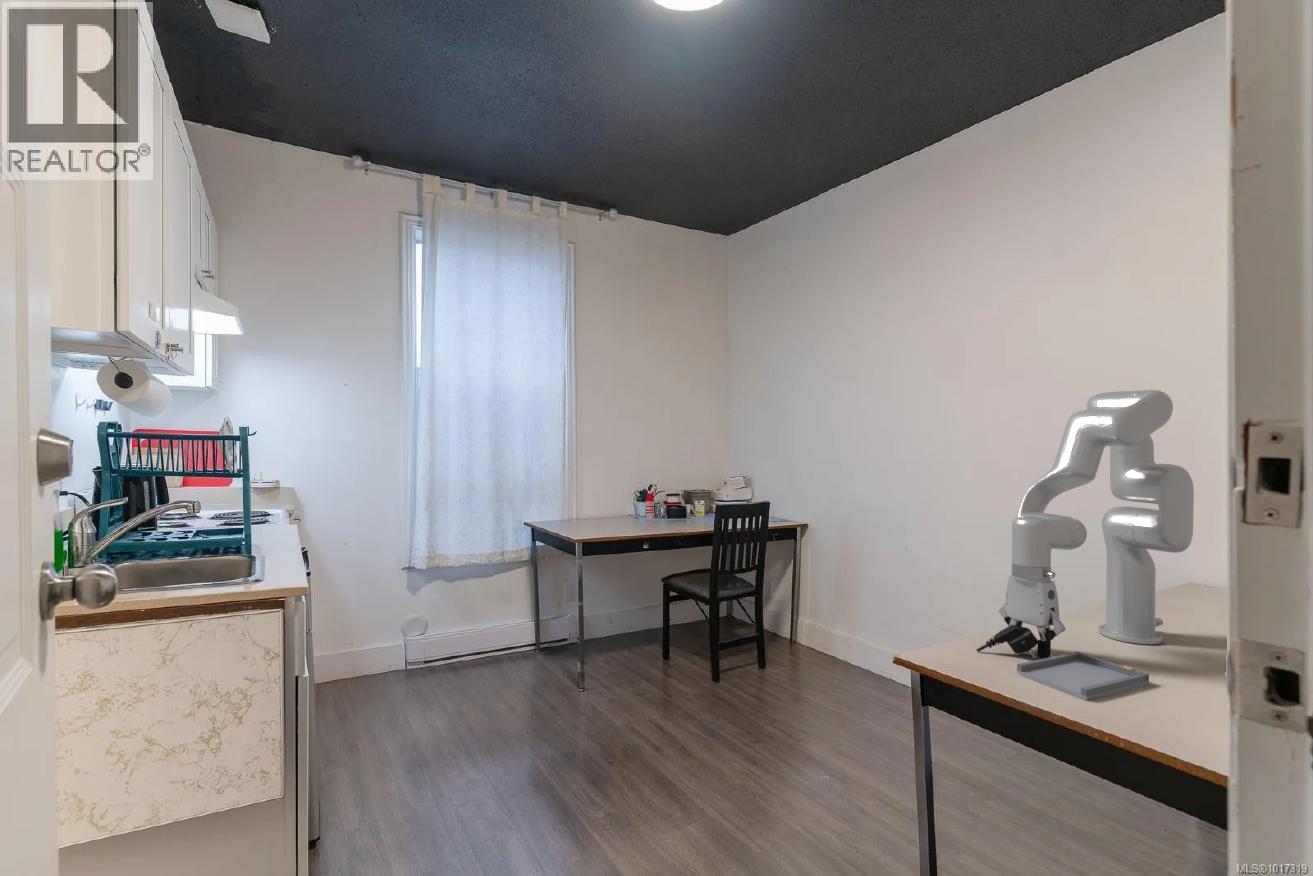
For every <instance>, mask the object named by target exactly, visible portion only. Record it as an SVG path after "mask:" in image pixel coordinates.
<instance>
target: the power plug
mask: <svg viewBox="0 0 1313 876" xmlns="http://www.w3.org/2000/svg"><path fill="white" fill-rule="evenodd" d="M1038 640H1039V639H1038V638H1037V637H1036V636H1035V635H1034V633H1033V632H1032V630H1031V629H1030V628H1028V627H1024V626H1022V627H1020V626H1015V625H1010V626H1006V627H1005V628H1004V629H1003V628H1002V630H999V632H997V633H995V634H994V635H993V636H992V637H990V638H989V639H988V640H986V641H985V644H984V645H981V646H979V647H978V648H975V649H976V651H977V652H978V651H979V652H981V651H983V650H985V649H986V648H990V649H991V648H993V647H995V646H999V645H1000V644H1001V645H1002V644H1004V643H1007V645H1008V646H1009V647H1010V648H1011V650H1012V651H1013V653H1015V654H1023V653H1026V652H1027V653H1028V654H1029V655H1030V656H1031V658H1032V659H1034V660H1037V655H1036V654H1035V653H1034V651H1033V650H1032V649H1033V648H1035V647H1036V646H1038Z"/></svg>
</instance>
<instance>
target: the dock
mask: <svg viewBox="0 0 1313 876" xmlns="http://www.w3.org/2000/svg"><path fill="white" fill-rule="evenodd" d="M1017 673H1019V674H1021V675H1022V677H1024V678H1027V679H1029V678H1031V679H1030V680H1032V681H1034V682H1037V683H1039V682H1040V684H1042V685H1044V686H1047V687H1050V688H1052V689H1055V690H1058V691H1060V692H1063V693H1065V694H1068V695H1070V696H1073V697H1075V698H1079V699H1081V700H1083V701H1086V702H1087V701H1091V700H1095V699H1099V698H1102V697H1106V696H1109V695H1115V694H1117V693H1122V692H1126V691H1129V690H1134V689H1136V688H1140V687H1141V688H1142V687H1145V686H1148V685H1150V674H1148V673H1145V672H1142V671H1139V670H1137V669H1134V667H1131V666H1128V665H1121V664H1117V663H1114V662H1111V661H1108V660H1105V659H1103V658H1099V657H1095V656H1092V655H1090V654H1087V653H1083V652H1079V651H1073V652H1068V653H1065V654H1064V653H1063V654H1059V655H1054V656H1050V657H1047V658H1043V659H1040V658H1038V659H1034V660H1030V661H1027V662H1022V663H1017V664H1016V674H1017ZM1019 674H1018V675H1019ZM1021 675H1020V676H1021Z"/></svg>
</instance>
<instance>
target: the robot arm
mask: <svg viewBox="0 0 1313 876" xmlns="http://www.w3.org/2000/svg"><path fill="white" fill-rule="evenodd" d="M1173 411H1174V403H1173V401H1172V399H1171V397H1170V396H1169V395H1168V394H1167V393H1166V392H1164V391H1162V390H1157V389H1146V390H1145V389H1144V390H1126V391H1125V390H1123V391H1120V390H1119V391H1110V392H1109V391H1107V392H1101V393H1096V394H1094V395H1092V396H1090V397H1089V398H1088V400H1087V403H1086V409H1085V410H1084V409H1083V410H1079V411H1076V412H1074V413H1072V414H1071V415H1070V416H1069V418H1068V420H1067V422H1066V424H1065V427H1064V431H1063V434H1062V437H1061V441H1060V443H1059V447H1058V449H1057V452H1056V456H1055V458H1054V462H1053V465H1052V468H1051V469H1050V470H1049V471H1048V472H1046V473H1045V474H1044V475H1043V476H1041V477H1040V478H1039V479H1037V481H1036V482H1035V483H1033V484H1032V485H1031V486H1030V487H1029V488H1028V490H1027V491H1026V492H1025V494H1024V495H1023V497H1022V499H1021V501H1020V505H1019V507H1018V511H1017V514H1016V517H1015V518H1013V520H1012V524H1011V574H1009V577H1008V581H1007V583H1006V584H1007V586H1006V593H1005V604H1004V605H1002V606H1001V607H1000V608H999V609H998V613H999V614H1000V616H1001V617H1002V618H1003V620H1004V622H1005V623H1006V624H1007V627H1009V626H1010V625H1015V626H1020V627H1023V625H1024V623H1025V624H1028V625H1031V626H1034V627H1036V629H1037V632H1038V635H1039V638H1040V639H1037V640H1038V643H1037V647H1036V649H1037V651H1036V652H1037V655H1036V657H1037V658H1038V659H1044V658H1049V657H1051V653H1052V652H1051V651H1052V650H1051V649H1052V648H1051V647H1052V644H1051V643H1052V641H1053V640H1054V639H1055V638H1056V637H1057V636H1059V634H1062V633H1063V632H1065V631H1066V629H1067V628H1066V626H1065V625H1064V623H1063V622H1062V621H1061V620H1060V606H1059V605H1060V604H1059V603H1060V602H1059V596H1058V591H1057V586H1056V582H1055V581H1054V580H1052V579H1054V578H1055V577H1056V572H1055V571H1052V557H1051V556H1052V550H1063V551H1070V550H1071V551H1072V550H1075V549H1078V548H1080V547H1081V546H1082V545H1083V544H1084V543H1085V542H1086V540H1087V536H1088V531H1087V527H1086V526H1085V524H1083V522H1082V521H1081V520H1079V519H1077V518H1074V517H1071V516H1068V515H1061V514H1054V513H1046V512H1045V510H1046V508H1047V506H1048V505H1049V504H1050V502H1051V501H1052V500H1054V499H1055V498H1056V497H1058V496H1059V495H1061V494H1063V493H1066V492H1067V491H1072V490H1073V489H1076V488H1079V487H1082V486H1085V485H1087V484H1089V483H1091V482H1093V481H1094V480H1095V479H1096V476H1097V472H1098V471H1099V468H1100V467H1099V465H1100V464H1101V463H1100V462H1101V460H1102V456H1103V453H1104V450H1105V448H1106V447H1109V453H1110V454H1109V458H1110V459H1109V461H1110V462H1109V486H1110V492H1111V494H1112V495H1113V496H1114V498H1117V499H1119V500H1121V501H1126V502H1132V503H1133V502H1136V503H1144V504H1145V503H1146V504H1153V505H1157V506H1158V509H1153V508H1146V507H1137V506H1126V505H1125V506H1124V505H1123V506H1115V507H1112V508H1110V509H1108V510H1107V511H1106V512H1104V515H1103V517H1102V520H1101V528H1102V535H1103V539H1104V544H1105V550H1106V551H1105V552H1106V554H1105V555H1106V584H1105V585H1106V586H1105V587H1106V589H1105V590H1106V592H1105V593H1106V600H1105V601H1106V604H1105V605H1106V607H1105V610H1106V612H1105V613H1106V614H1105V615H1106V618H1105V624H1104V623H1103V624H1100V625H1099V626H1098V632H1099V634H1101V635H1102V636H1104V637H1106V638H1109V639H1113V640H1116V641H1120V642H1125V643H1130V644H1139V645H1159V644H1162V643H1163V642H1164V636H1163V635H1162V634H1161V633H1159V632H1158V631H1156V627H1160V626H1163V624H1164V620H1163V619H1162V618H1161V617H1156V574H1157V571H1156V565H1155V561H1154V559H1153V557H1152V556H1151V554H1150V552H1149V551H1148V550H1153V551H1158V552H1163V553H1172V554H1178V553H1182V552H1184V551H1186V550H1187V549H1189V548H1190V545H1191V544H1192V541H1193V536H1194V505H1195V504H1194V498H1195V496H1194V493H1195V492H1194V491H1195V489H1194V482H1193V479H1192V477H1191V474H1190V473H1189V472H1188V471H1187V469H1185V468H1184V467H1183V466H1180V465H1178V464H1172V463H1171V464H1170V463H1156V461H1155V453H1154V452H1155V451H1154V449H1155V448H1154V447H1155V446H1154V441H1153V439H1152V436H1151V435H1152V434H1153V433H1155V432H1156V431H1158V430H1159V429H1161V428H1162V427H1164V425H1166V424H1167V423H1168V421H1169V420H1170V419H1171V416H1172V414H1173ZM1052 626H1053V628H1052Z"/></svg>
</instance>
